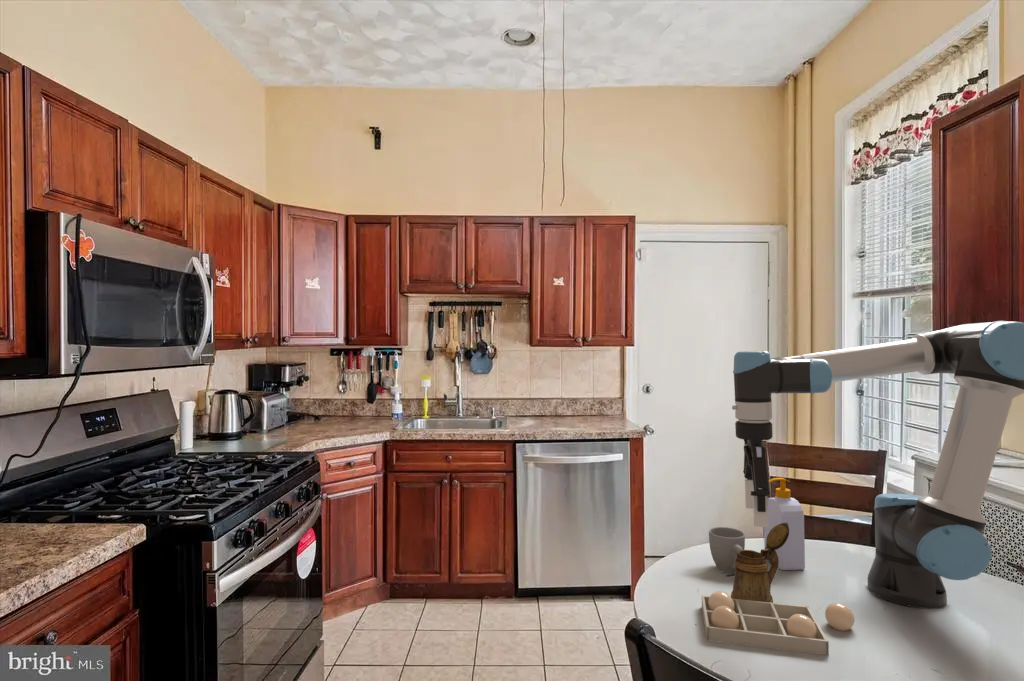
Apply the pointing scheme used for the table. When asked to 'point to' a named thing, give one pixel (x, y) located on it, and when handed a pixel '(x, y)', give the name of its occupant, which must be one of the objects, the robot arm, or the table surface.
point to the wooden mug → (758, 568)
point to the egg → (839, 616)
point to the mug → (725, 547)
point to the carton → (765, 627)
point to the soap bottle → (791, 513)
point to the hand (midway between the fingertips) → (756, 516)
